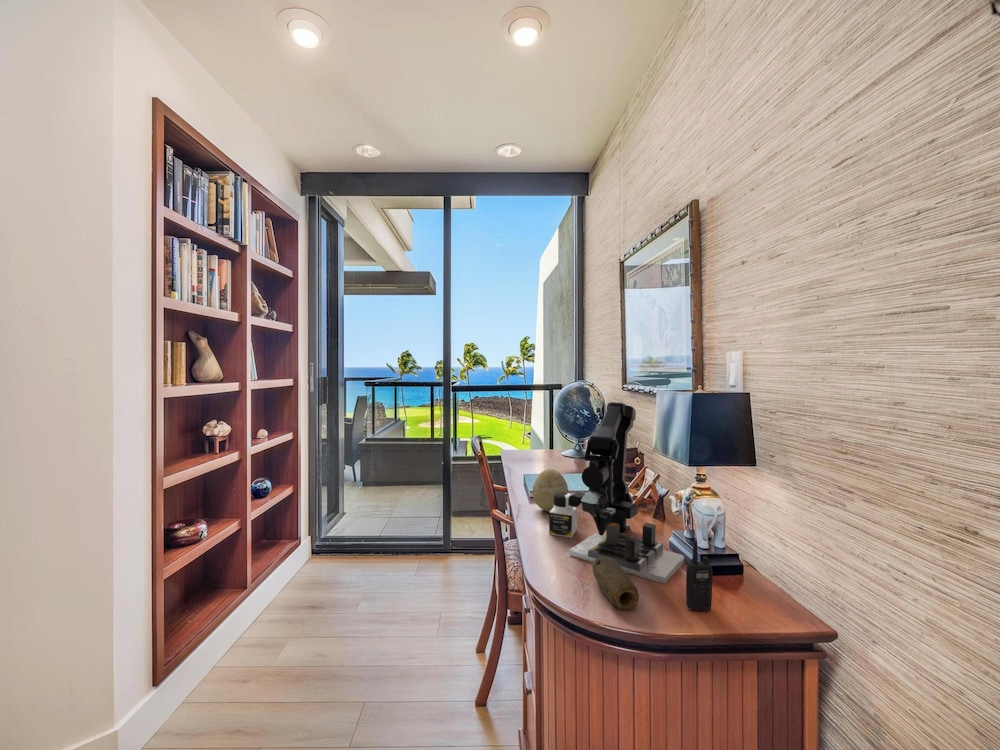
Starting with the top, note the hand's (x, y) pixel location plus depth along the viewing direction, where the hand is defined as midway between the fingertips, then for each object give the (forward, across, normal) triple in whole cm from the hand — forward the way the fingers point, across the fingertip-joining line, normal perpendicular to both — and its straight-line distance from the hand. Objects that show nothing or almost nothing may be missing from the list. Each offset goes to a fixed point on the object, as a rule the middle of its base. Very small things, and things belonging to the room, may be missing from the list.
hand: (601, 535), depth 129 cm
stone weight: (+5, +13, -21) cm, 25 cm away
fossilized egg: (+5, -30, +21) cm, 37 cm away
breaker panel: (+4, +7, 0) cm, 9 cm away
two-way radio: (+5, +29, -14) cm, 33 cm away
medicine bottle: (+5, -16, +6) cm, 17 cm away
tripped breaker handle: (+1, +3, 0) cm, 4 cm away
